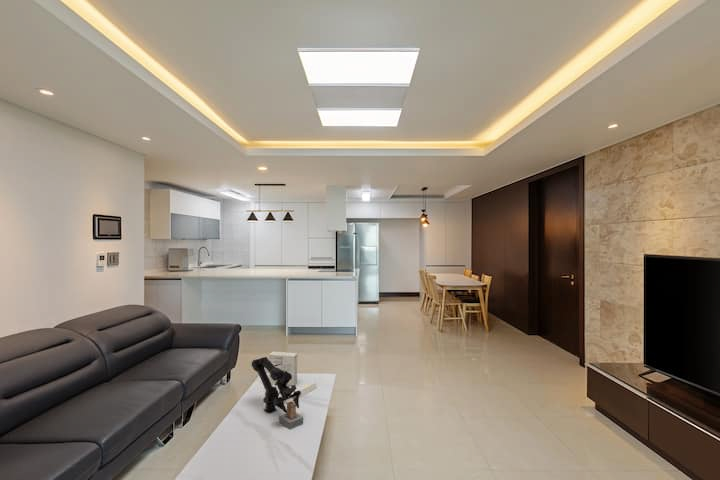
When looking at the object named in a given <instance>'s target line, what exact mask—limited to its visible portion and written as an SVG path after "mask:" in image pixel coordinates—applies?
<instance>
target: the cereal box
mask: <svg viewBox="0 0 720 480" xmlns="http://www.w3.org/2000/svg"><path fill="white" fill-rule="evenodd" d="M268 360H269V361H270V362H271V363H272V364H273V365H274V366H275V367H276V368H279V369H281V370H282V371H283V372H284V371H287V372H288V373H290V374H291V375H292V379H291V380H290V381H289V382H288V383H287V384H286V385H287V387H288V386H289V388H291V387H292V386H293V385H295V386H296V385H297V384H298V383H297V382H298V353H297V352H284V351H271V352H270V353H269V355H268ZM268 378H269V380H270V382H271V385H272V386H275V383H276V381H278V380H279V379H278V380H275V381H274V380H273V379H272V378H271V376H270V372H269V371H268Z"/></svg>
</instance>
